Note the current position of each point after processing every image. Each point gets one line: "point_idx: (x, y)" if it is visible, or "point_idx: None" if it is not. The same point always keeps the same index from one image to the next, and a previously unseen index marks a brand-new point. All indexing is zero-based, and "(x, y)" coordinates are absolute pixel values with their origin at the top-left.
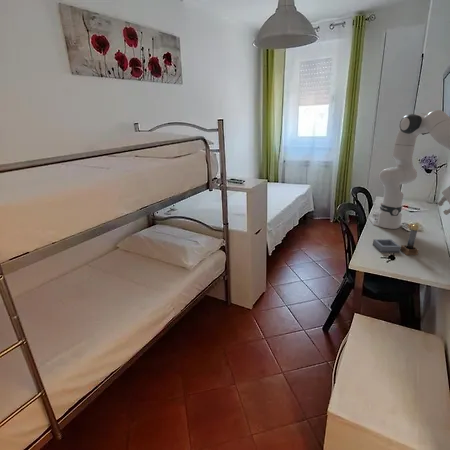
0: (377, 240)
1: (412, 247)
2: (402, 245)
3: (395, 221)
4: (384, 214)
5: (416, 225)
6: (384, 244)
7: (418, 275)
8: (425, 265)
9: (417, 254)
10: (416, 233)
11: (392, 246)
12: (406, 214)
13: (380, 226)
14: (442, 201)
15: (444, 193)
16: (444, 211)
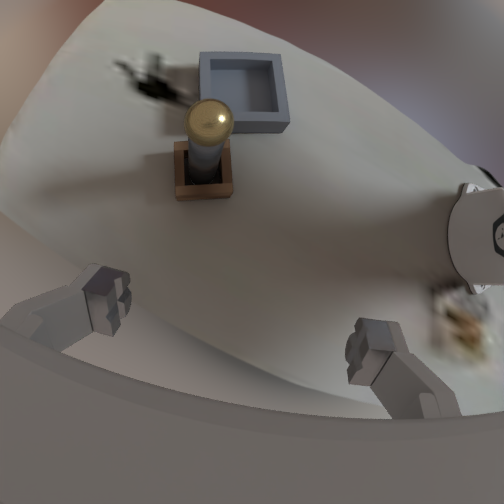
0: (272, 64)
1: (189, 169)
2: (227, 144)
3: (474, 247)
4: (498, 201)
5: (200, 116)
6: (268, 100)
7: (24, 131)
8: (85, 189)
9: (177, 199)
10: (193, 147)
11: (202, 89)
12: None
13: (458, 200)
14: (390, 381)
15: (498, 436)
16: (104, 275)
